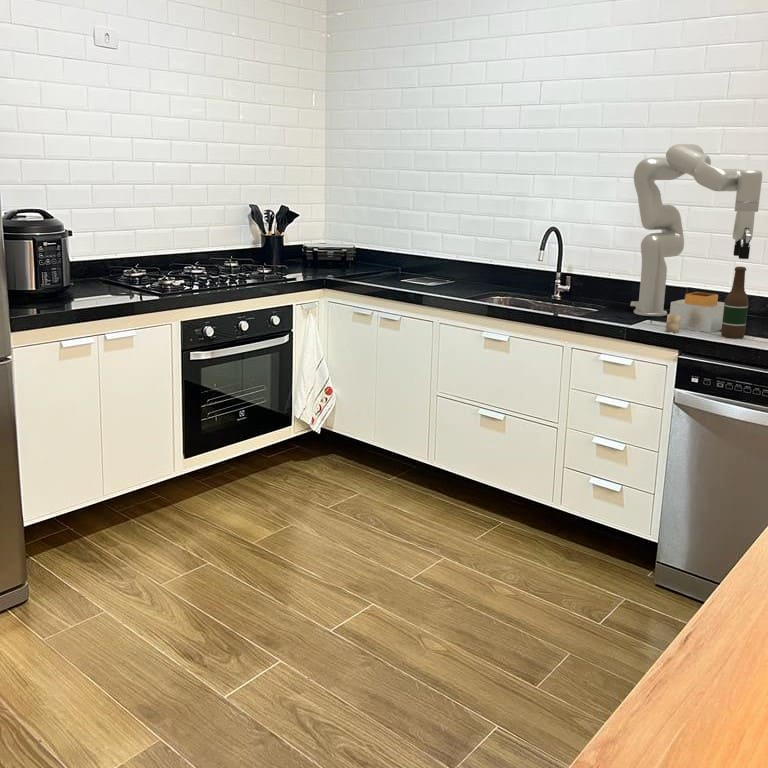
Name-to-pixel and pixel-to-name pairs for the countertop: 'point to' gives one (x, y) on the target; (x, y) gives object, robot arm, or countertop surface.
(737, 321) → the beer bottle
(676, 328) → the bead
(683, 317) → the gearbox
